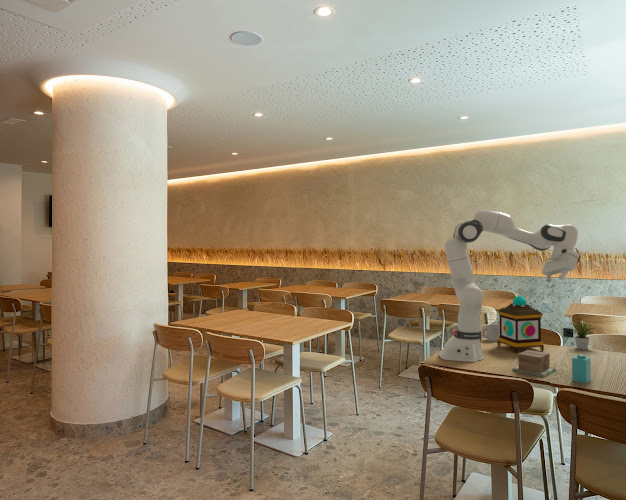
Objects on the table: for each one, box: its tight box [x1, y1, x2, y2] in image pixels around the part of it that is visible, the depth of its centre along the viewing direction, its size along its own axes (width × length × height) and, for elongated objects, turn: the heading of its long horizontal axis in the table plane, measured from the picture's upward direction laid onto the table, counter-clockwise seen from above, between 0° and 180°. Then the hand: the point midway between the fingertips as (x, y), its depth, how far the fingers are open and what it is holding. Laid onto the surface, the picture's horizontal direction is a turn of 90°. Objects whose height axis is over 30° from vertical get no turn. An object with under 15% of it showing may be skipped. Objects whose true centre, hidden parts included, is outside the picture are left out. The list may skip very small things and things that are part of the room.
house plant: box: [571, 319, 599, 350], centre depth 247 cm, size 14×14×16 cm
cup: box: [481, 324, 500, 343], centre depth 272 cm, size 7×10×9 cm
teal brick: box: [571, 354, 592, 384], centre depth 194 cm, size 6×6×11 cm
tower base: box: [511, 349, 557, 378], centre depth 210 cm, size 14×14×8 cm
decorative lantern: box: [496, 295, 545, 354], centre depth 250 cm, size 20×20×30 cm
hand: (554, 280), depth 218 cm, fingers open, 8 cm apart
